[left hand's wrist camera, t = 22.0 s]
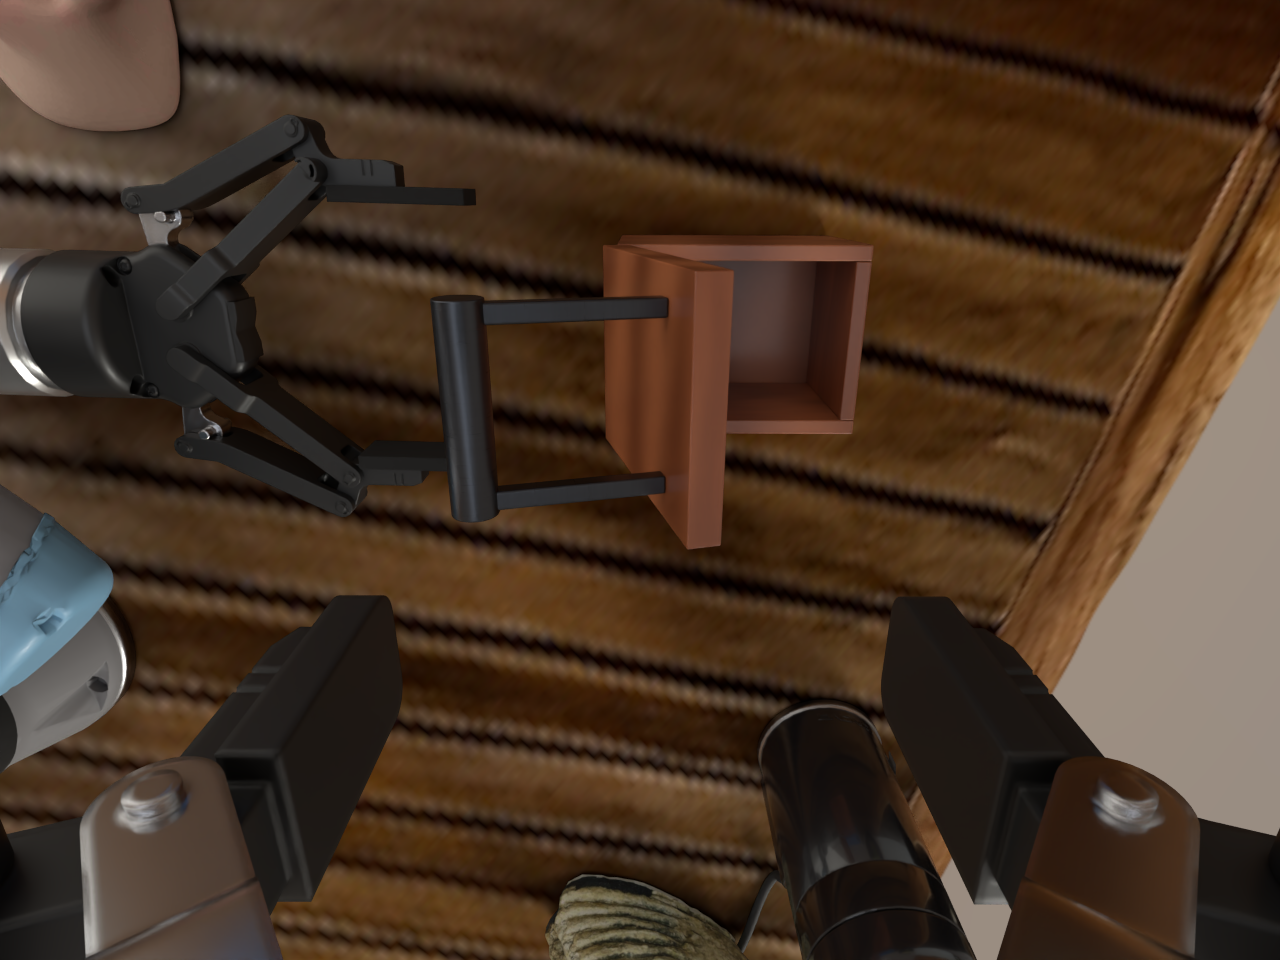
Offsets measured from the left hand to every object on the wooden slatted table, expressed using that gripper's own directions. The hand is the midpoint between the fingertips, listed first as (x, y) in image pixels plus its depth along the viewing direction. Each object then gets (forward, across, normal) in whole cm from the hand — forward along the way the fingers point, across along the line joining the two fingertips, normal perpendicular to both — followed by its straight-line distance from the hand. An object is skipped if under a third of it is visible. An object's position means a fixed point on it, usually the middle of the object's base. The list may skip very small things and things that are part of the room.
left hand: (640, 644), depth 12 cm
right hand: (+28, +8, 0) cm, 30 cm away
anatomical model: (+35, +31, -16) cm, 49 cm away
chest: (+35, -5, 0) cm, 35 cm away
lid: (+19, -1, 0) cm, 19 cm away
